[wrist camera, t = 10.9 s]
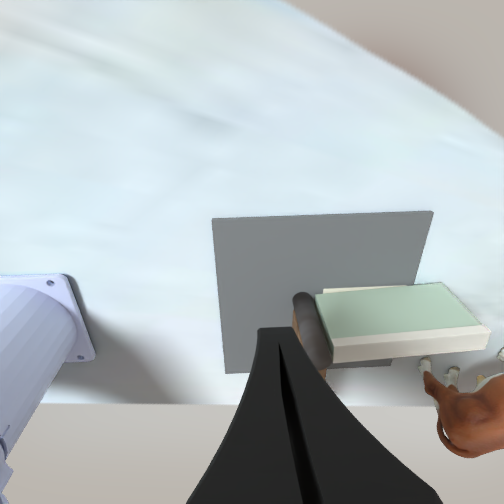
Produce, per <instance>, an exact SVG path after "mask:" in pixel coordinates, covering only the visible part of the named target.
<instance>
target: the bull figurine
mask: <svg viewBox="0 0 504 504" xmlns="http://www.w3.org/2000/svg"><path fill="white" fill-rule="evenodd" d="M497 358H498V359H499V360H501V361H503V362H504V348H502V349H501V352H500V353H499V356H498V357H497ZM420 364H421V366H419V367H418V370H419V371H420V373H421V375H422V378H423V381H424V385H425V392H426V393H427V394H429V395H431V396H432V397H433V399H434V403H435V407H436V410H437V413H438V422H437V432H438V435H439V438H440V440H441V441H442V443H443V444H444V445H445V446H446V448H447V449H449V450H450V451H451V452H453V453H454V454H456V455H458V456H461V457H465V458H475V457H478V456H480V455H483V454H486V453H489V452H492V451H495V450H500V449H504V373H499V374H495V375H492V376H490V377H488V378H485V377H484V376H483V375H479V376H477V387H476V388H475V390H474V391H472V392H468V393H459V391H458V388H457V378H458V375H459V371H460V369H459V368H458V367H452V368H450V369H449V372H448V375H447V374H444V380H445V383H446V386H444V385H443V384H441V383H440V382H438V381H437V380H436V379H435V377H434V376H433V374H432V372H431V360H430V358H429V357H425V358H423V359H421V360H420ZM443 428H444V430H445V432H446V434H447V436H448V438H449V439H448V438H447V437H446V436H445V435H444V432H443Z"/></svg>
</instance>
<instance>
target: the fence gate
mask: <svg viewBox="0 0 504 504" xmlns="http://www.w3.org/2000/svg"><path fill="white" fill-rule="evenodd" d="M315 309H316V312H317V315H318V318H319V321H320V324H321V327H322V330H323V333H324V336H325V339H326V342H327V345H328V348H329V351H330V354H331V358H332V362H333V363H343V362H354V361H365V360H376V359H387V358H398V357H409V356H420V355H431V354H441V353H452V352H463V351H474V350H485V348H486V345H487V343H488V340H489V338H490V335H491V331H490V330H489V329H488V328H487V327H486V326H485V325H483V324H482V323H481V322H480V321H479V320H478V319H477V318H476V317H475V316H474V315H473V314H472V313H471V312H470V311H469V310H468V309H467V308H466V307H465V306H464V305H463V304H462V303H461V302H460V301H459V300H458V299H457V298H456V297H455V296H454V295H453V294H452V293H451V292H450V290H449V289H448V288H447V287H446V286H445V285H444V284H443V283H434V284H423V285H412V286H401V287H390V288H380V289H369V290H358V291H347V292H336V293H325V294H315Z"/></svg>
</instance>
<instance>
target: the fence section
mask: <svg viewBox="0 0 504 504" xmlns="http://www.w3.org/2000/svg"><path fill="white" fill-rule="evenodd" d="M292 302H293V306H294V310H293V320H292V328H293V329H294V331H295V333H296V335H297V337H298V339H299V341H300V343H301V344H302V346H303V348H304V350H305V351H306V353H307V355H308V356H309V358H310V359H311V361H312V362H313V364H314V365H315V367H316V368H317V370H318V372H319V373H320V374H321V376H322V377H323V379H324V380H325V377H326V370H327V368H328V367H329V366H330V365H331V363H332V358H331V355H330V352H329V349H328V346H327V343H326V340H325V337H324V334H323V331H322V328H321V325H320V322H319V319H318V316H317V313H316V310H315V307H314V304H313V301H312V298H311V295H310V294H309V293H307V292H299V293H297V294H295V295H294V297H293V299H292Z"/></svg>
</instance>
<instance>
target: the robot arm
mask: <svg viewBox="0 0 504 504" xmlns="http://www.w3.org/2000/svg"><path fill="white" fill-rule="evenodd" d="M50 280H51V281H53V282H54V283H52V282H50ZM81 355H82V356H81ZM95 356H96V354H95V351H94V348H93V345H92V343H91V340H90V337H89V335H88V332H87V329H86V327H85V324H84V321H83V319H82V316H81V313H80V310H79V308H78V305H77V302H76V300H75V297H74V294H73V292H72V289H71V286H70V283H69V281H68V279H67V277H65V276H64V275H62V274H45V275H19V276H0V504H9V502H8V500H7V499H6V497H5V496H4V495H3V494H2V491H3V489H4V487H5V486H6V484H7V482H8V480H9V479H10V477H11V475H12V473H13V469H11V468H10V467H9V466H8V465H7V464H6V462H5V460H6V458H7V457H8V455H9V453H10V452H11V450H12V448H13V447H14V445H15V443H16V442H17V440H18V438H19V437H20V435H21V433H22V432H23V430H24V428H25V426H26V425H27V423H28V421H29V420H30V418H31V416H32V415H33V413H34V411H35V410H36V408H37V406H38V405H39V403H40V401H41V400H42V398H43V396H44V395H45V393H46V391H47V390H48V388H49V386H50V384H51V383H52V381H53V379H54V378H55V376H56V374H57V373H58V371H59V369H60V368H61V366H62V364H63V363H66V362H87V361H92V360H93V359H94V358H95ZM186 504H443V502H442V501H441V499H440V498H439V496H438V494H437V493H436V491H435V490H434V489H433V488H432V487H430V486H429V485H428V484H427V483H426V482H424V481H423V480H422V479H420V478H419V477H418V476H417V475H416V474H414V473H413V472H412V471H411V470H410V469H409V468H407V467H406V466H405V465H404V464H403V463H401V462H400V461H399V460H398V459H397V458H396V457H395V456H394V455H392V453H390V452H389V451H388V450H387V449H386V448H385V447H384V446H383V445H382V444H381V443H380V442H379V441H378V440H377V439H376V438H375V437H374V436H373V435H372V434H371V433H370V432H369V431H368V430H367V429H366V428H365V427H364V426H363V425H362V424H361V423H360V422H359V421H358V420H357V419H356V418H355V417H354V416H353V415H352V413H351V412H350V411H349V410H348V409H347V408H346V406H345V405H344V404H343V403H342V402H341V401H340V399H339V398H338V397H337V396H336V394H335V393H334V392H333V391H332V389H331V388H330V387H329V385H328V384H327V383H326V381H325V380H324V379H323V377H322V376H321V374H320V373H319V372H318V370H317V368H316V367H315V365H314V364H313V362H312V361H311V359H310V358H309V356H308V355H307V353H306V351H305V350H304V348H303V346H302V344H301V343H300V341H299V339H298V337H297V335H296V333H295V331H294V329H293V328H292V327H291V326H289V327H267V328H259V329H258V330H257V345H256V351H255V356H254V360H253V364H252V368H251V372H250V375H249V378H248V381H247V384H246V387H245V390H244V393H243V396H242V398H241V401H240V404H239V406H238V408H237V411H236V413H235V416H234V418H233V420H232V422H231V424H230V426H229V429H228V431H227V433H226V435H225V437H224V439H223V441H222V443H221V445H220V447H219V449H218V450H217V452H216V454H215V456H214V458H213V460H212V461H211V463H210V465H209V467H208V469H207V470H206V472H205V473H204V475H203V477H202V478H201V480H200V481H199V483H198V485H197V486H196V488H195V490H194V491H193V493H192V494H191V496H190V497H189V499H188V501H187V503H186Z"/></svg>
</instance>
